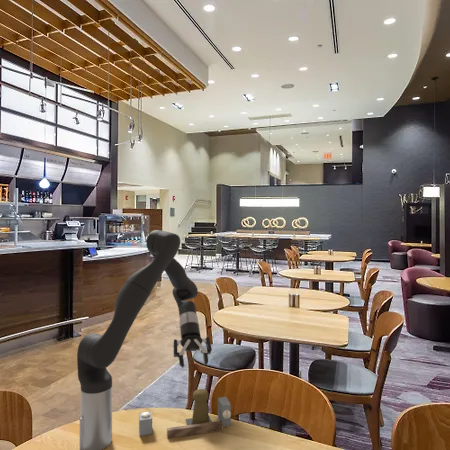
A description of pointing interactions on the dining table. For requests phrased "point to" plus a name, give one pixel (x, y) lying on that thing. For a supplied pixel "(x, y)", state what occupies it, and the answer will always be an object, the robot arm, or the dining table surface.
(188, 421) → the mat
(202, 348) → the robot arm
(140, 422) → the near end cabinet
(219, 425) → the handrail
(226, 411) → the far end cabinet
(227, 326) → the dining table surface
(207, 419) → the olive pawn
